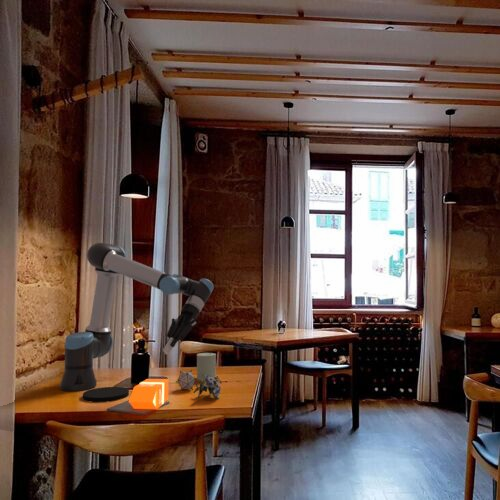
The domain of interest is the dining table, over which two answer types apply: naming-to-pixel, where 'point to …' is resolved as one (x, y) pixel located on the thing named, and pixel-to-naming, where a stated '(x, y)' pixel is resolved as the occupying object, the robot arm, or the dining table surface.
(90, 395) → the wireless charger
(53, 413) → the dining table surface
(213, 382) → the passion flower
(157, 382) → the orange juice
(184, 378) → the game die
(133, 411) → the mat
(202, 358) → the can
